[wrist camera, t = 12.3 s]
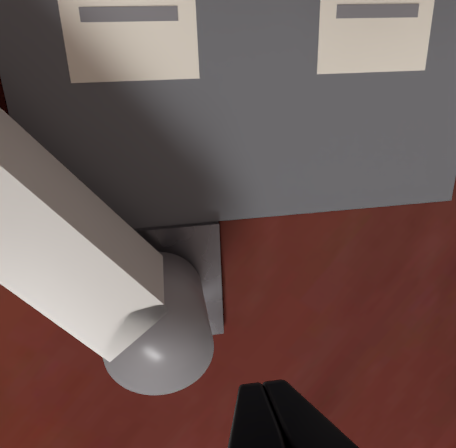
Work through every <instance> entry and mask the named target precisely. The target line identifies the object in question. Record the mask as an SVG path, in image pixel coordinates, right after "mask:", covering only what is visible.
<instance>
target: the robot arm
mask: <svg viewBox="0 0 456 448" xmlns="http://www.w3.org/2000/svg"><path fill="white" fill-rule="evenodd" d="M228 448H359V447H358V446H356V445H355V444H354V443H353V442H352V441H351V440H350V439H349V438H348V437H347V436H346V435H344V434H343V433H342V432H341V431H340V430H339V429H338V428H337V427H336V426H335V425H334V424H332V423H331V422H330V421H329V420H328V419H327V418H326V417H325V416H324V415H323V414H321V413H320V412H319V411H318V410H317V409H316V408H315V407H314V406H313V405H312V404H311V403H309V402H308V401H307V400H306V399H305V398H304V397H303V396H302V395H301V394H300V393H298V392H297V391H296V390H295V389H294V388H293V387H292V386H291V385H290V384H289V383H288V382H286V381H285V380H273V381H266V382H264V383H263V384H261V383H258V382H257V383H249V384H242V385H240V387H239V390H238V396H237V401H236V406H235V412H234V417H233V422H232V428H231V433H230V438H229V444H228Z"/></svg>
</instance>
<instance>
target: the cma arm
mask: <svg viewBox="0 0 456 448" xmlns="http://www.w3.org/2000/svg"><path fill="white" fill-rule="evenodd" d="M0 284H1V285H3V286H4V287H6V288H7V289H8V290H10V291H11V292H13V293H14V294H15V295H17V296H18V297H20V298H21V299H22V300H24V301H25V302H26V303H28V304H29V305H31V306H32V307H33V308H35V309H36V310H38V311H39V312H40V313H42V314H43V315H45V316H46V317H47V318H49V319H50V320H52V321H53V322H54V323H56V324H57V325H58V326H60V327H61V328H63V329H64V330H65V331H67V332H68V333H70V334H71V335H72V336H74V337H75V338H77V339H78V340H79V341H81V342H82V343H84V344H85V345H86V346H88V347H89V348H90V349H92V350H93V351H95V352H96V353H97V354H99V355H100V356H102V357H103V361H104V364H105V367H106V369H107V371H108V373H109V374H110V376H111V377H112V378H113V379H114V380H115V381H116V382H117V383H118V384H120V385H121V386H123V387H124V388H126V389H128V390H130V391H133V392H136V393H140V394H145V395H163V394H169V393H173V392H176V391H179V390H182V389H184V388H186V387H188V386H189V385H191V384H192V383H194V382H195V381H196V380H198V379H199V378H200V377H201V376H202V375H203V373H204V372H205V371H206V369H207V368H208V366H209V364H210V362H211V360H212V356H213V351H214V342H213V337H212V332H211V327H210V322H209V318H208V313H207V308H206V304H205V299H204V294H203V289H202V285H201V280H200V277H199V275H198V273H197V271H196V269H195V268H194V267H193V266H192V265H191V264H190V263H189V262H188V261H187V260H185V259H184V258H182V257H180V256H178V255H175V254H172V253H167V252H158V251H157V250H156V249H155V248H154V247H152V246H151V245H150V244H149V243H148V242H147V241H146V240H145V239H144V238H143V237H141V236H140V235H139V234H138V233H137V232H136V231H135V230H134V229H133V228H132V227H131V226H129V225H128V224H127V223H126V222H125V221H124V220H123V219H122V218H121V217H120V216H118V215H117V214H116V213H115V212H114V211H113V210H112V209H111V208H110V207H109V206H108V205H106V204H105V203H104V202H103V201H102V200H101V199H100V198H99V197H98V196H97V195H95V194H94V193H93V192H92V191H91V190H90V189H89V188H88V187H87V186H86V185H85V184H83V183H82V182H81V181H80V180H79V179H78V178H77V177H76V176H75V175H74V174H72V173H71V172H70V171H69V170H68V169H67V168H66V167H65V166H64V165H63V164H62V163H60V162H59V161H58V160H57V159H56V158H55V157H54V156H53V155H52V154H51V153H49V152H48V151H47V150H46V149H45V148H44V147H43V146H42V145H41V144H40V143H38V142H37V141H36V140H35V139H34V138H33V137H32V136H31V135H30V134H29V133H28V132H26V131H25V130H24V129H23V128H22V127H21V126H20V125H19V124H18V123H17V122H15V121H14V120H13V119H12V118H11V117H10V116H9V115H8V114H7V113H6V112H5V111H3V110H2V109H1V108H0Z"/></svg>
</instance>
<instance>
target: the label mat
mask: <svg viewBox="0 0 456 448" xmlns="http://www.w3.org/2000/svg"><path fill="white" fill-rule="evenodd" d="M0 77H1V81H2V86H3V90H4V95H5V99H6V104H7V108H8V113H9V116H10V117H11V118H12V119H13V120H14V121H15V122H17V123H18V124H19V125H20V126H21V127H22V128H23V129H24V130H25V131H26V132H28V133H29V134H30V135H31V136H32V137H33V138H34V139H35V140H36V141H37V142H38V143H40V144H41V145H42V146H43V147H44V148H45V149H46V150H47V151H48V152H49V153H51V154H52V155H53V156H54V157H55V158H56V159H57V160H58V161H59V162H60V163H62V164H63V165H64V166H65V167H66V168H67V169H68V170H69V171H70V172H71V173H72V174H74V175H75V176H76V177H77V178H78V179H79V180H80V181H81V182H82V183H83V184H85V185H86V186H87V187H88V188H89V189H90V190H91V191H92V192H93V193H94V194H95V195H97V196H98V197H99V198H100V199H101V200H102V201H103V202H104V203H105V204H106V205H108V206H109V207H110V208H111V209H112V210H113V211H114V212H115V213H116V214H117V215H118V216H120V217H121V218H122V219H123V220H124V221H125V222H126V223H127V224H128V225H129V226H131V227H132V228H133V229H135V228H147V227H158V226H169V225H180V224H191V223H203V222H214V221H225V220H236V219H248V218H259V217H270V216H281V215H293V214H304V213H315V212H326V211H338V210H349V209H360V208H371V207H383V206H394V205H405V204H416V203H428V202H439V201H450V200H451V199H452V193H453V188H454V182H455V177H456V0H0Z"/></svg>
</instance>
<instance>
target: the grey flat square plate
mask: <svg viewBox="0 0 456 448" xmlns="http://www.w3.org/2000/svg"><path fill="white" fill-rule="evenodd" d="M134 230H135V231H136V232H137V233H138V234H139V235H140V236H141V237H143V238H144V239H145V240H146V241H147V242H148V243H149V244H150V245H151V246H152V247H154V248H155V249H156V250H157V251H158V252H167V253H172V254H175V255H178V256H180V257H182V258H184V259H185V260H187V261H188V262H189V263H190V264H191V265H192V266H193V267H194V268H195V269H196V271H197V273H198V275H199V277H200V280H201V285H202V289H203V294H204V299H205V304H206V308H207V313H208V318H209V322H210V327H211V332H212V335H215V334H222V333H224V326H223V303H222V279H221V256H220V232H219V222H218V221H214V222H203V223H191V224H180V225H169V226H158V227H147V228H135V229H134Z"/></svg>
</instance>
